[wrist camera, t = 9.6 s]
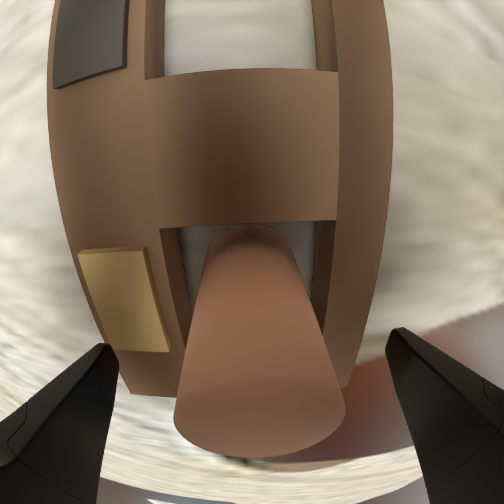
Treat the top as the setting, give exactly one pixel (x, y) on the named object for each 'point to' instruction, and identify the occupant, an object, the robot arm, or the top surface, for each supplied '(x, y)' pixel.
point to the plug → (255, 354)
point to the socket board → (215, 169)
